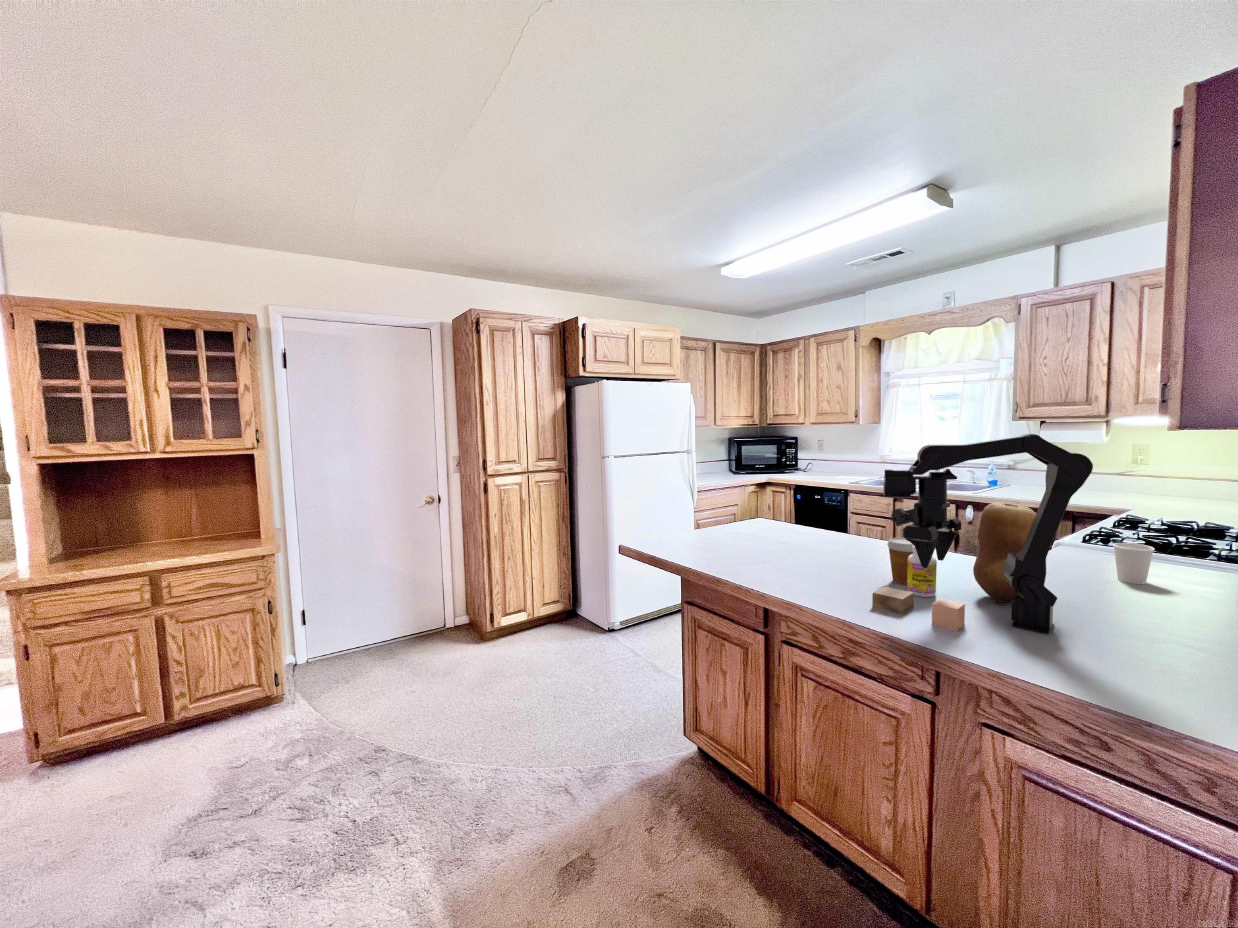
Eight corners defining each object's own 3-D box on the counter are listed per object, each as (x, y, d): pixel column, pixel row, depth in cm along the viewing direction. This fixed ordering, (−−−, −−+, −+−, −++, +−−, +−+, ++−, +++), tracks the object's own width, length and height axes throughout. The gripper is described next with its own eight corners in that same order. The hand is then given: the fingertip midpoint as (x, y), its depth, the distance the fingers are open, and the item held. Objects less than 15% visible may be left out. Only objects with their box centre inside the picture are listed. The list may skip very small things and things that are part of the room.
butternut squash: (1047, 612, 123) (1051, 508, 121) (981, 606, 127) (984, 506, 126) (1023, 594, 136) (1026, 500, 134) (964, 589, 140) (966, 498, 139)
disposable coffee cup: (879, 580, 151) (879, 539, 150) (901, 575, 155) (901, 536, 154) (909, 588, 142) (910, 546, 141) (931, 583, 146) (932, 542, 145)
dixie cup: (1103, 576, 149) (1104, 542, 149) (1132, 576, 149) (1134, 542, 148) (1130, 585, 141) (1132, 549, 140) (1162, 585, 141) (1164, 549, 140)
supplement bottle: (907, 595, 136) (908, 548, 136) (906, 588, 142) (907, 542, 141) (936, 599, 133) (938, 550, 133) (935, 591, 139) (936, 545, 138)
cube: (964, 625, 116) (964, 603, 116) (957, 631, 113) (957, 609, 113) (939, 619, 120) (940, 598, 120) (931, 625, 117) (932, 603, 116)
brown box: (913, 608, 128) (913, 592, 128) (902, 615, 123) (902, 599, 123) (884, 601, 133) (884, 586, 133) (872, 608, 129) (872, 592, 128)
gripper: (912, 492, 133) (913, 551, 134) (879, 500, 121) (879, 565, 122) (962, 495, 124) (962, 558, 125) (930, 504, 112) (931, 574, 113)
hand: (932, 563), depth 122 cm, fingers open, 9 cm apart
